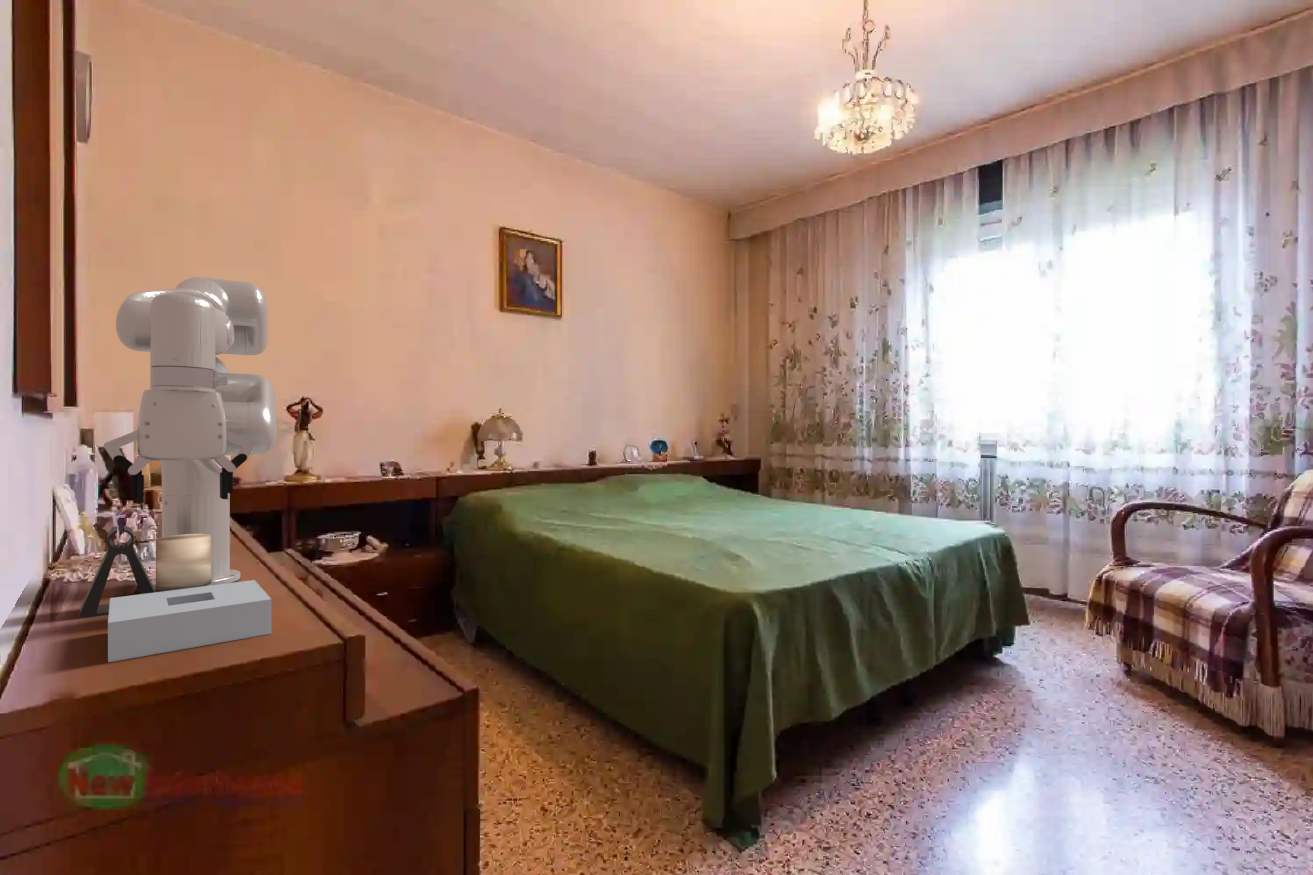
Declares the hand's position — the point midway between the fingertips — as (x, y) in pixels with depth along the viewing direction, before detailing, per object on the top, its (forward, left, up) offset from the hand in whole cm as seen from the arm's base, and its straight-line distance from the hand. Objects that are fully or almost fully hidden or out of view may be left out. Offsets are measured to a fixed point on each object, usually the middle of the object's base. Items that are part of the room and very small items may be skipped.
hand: (183, 500), depth 90 cm
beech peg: (0, 0, -16) cm, 16 cm away
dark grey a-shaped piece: (-9, -7, -17) cm, 20 cm away
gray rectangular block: (+12, 0, -16) cm, 20 cm away
